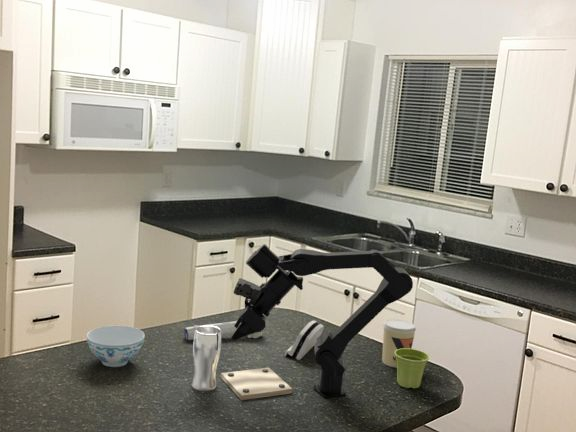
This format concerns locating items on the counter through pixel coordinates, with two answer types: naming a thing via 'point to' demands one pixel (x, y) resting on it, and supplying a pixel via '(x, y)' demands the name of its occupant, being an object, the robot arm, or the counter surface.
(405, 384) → the plant pot
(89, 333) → the chinaware
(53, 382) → the counter surface
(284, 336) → the counter surface
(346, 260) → the robot arm
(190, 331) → the grey long bar
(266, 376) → the bolt plate
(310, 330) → the white layered curved block
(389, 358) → the cream lidded tub
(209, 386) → the metal tumbler
